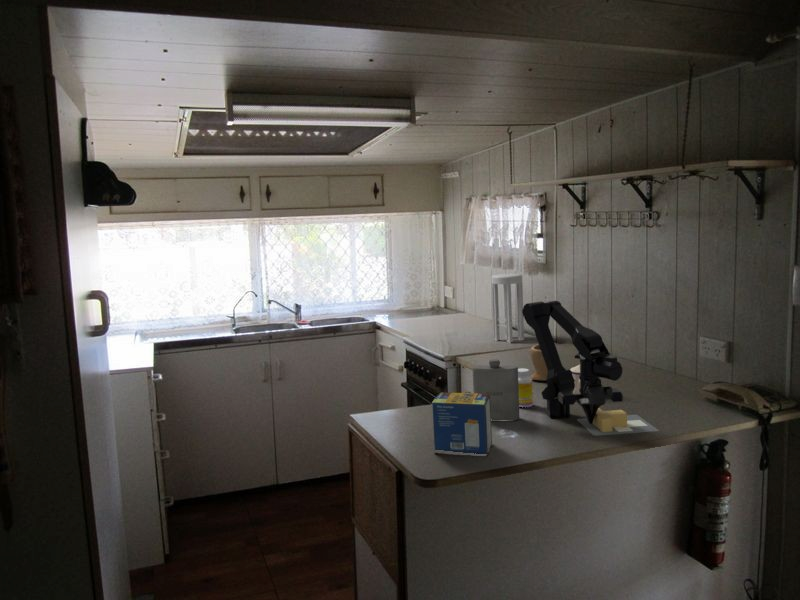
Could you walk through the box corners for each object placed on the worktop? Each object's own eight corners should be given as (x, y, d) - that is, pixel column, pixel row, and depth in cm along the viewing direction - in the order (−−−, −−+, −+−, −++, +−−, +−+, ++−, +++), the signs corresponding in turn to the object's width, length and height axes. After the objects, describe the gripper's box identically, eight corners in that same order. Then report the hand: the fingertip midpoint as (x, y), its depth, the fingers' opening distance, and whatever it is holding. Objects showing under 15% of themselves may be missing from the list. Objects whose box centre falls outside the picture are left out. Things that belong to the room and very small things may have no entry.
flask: (472, 420, 209) (470, 361, 207) (475, 415, 215) (473, 357, 212) (518, 422, 205) (516, 362, 202) (520, 416, 210) (518, 358, 208)
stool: (507, 336, 347) (505, 273, 342) (529, 339, 335) (527, 274, 330) (488, 341, 338) (485, 275, 333) (510, 344, 325) (507, 277, 321)
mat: (593, 436, 188) (593, 435, 188) (576, 419, 204) (576, 418, 204) (659, 431, 189) (659, 430, 189) (636, 415, 205) (636, 414, 205)
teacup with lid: (572, 389, 239) (571, 359, 237) (597, 390, 235) (596, 360, 234) (567, 398, 228) (566, 366, 226) (593, 400, 224) (593, 367, 223)
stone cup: (526, 383, 251) (525, 346, 249) (533, 375, 261) (532, 340, 259) (565, 385, 244) (564, 347, 242) (571, 378, 255) (570, 341, 253)
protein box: (441, 441, 192) (439, 392, 190) (492, 444, 187) (490, 393, 185) (433, 454, 182) (431, 402, 180) (487, 457, 177) (484, 403, 175)
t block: (602, 432, 191) (602, 419, 190) (590, 420, 202) (589, 408, 201) (631, 429, 191) (631, 417, 191) (617, 418, 202) (617, 406, 202)
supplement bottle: (536, 406, 220) (535, 370, 218) (519, 409, 218) (518, 373, 216) (527, 401, 226) (526, 366, 225) (510, 404, 225) (509, 369, 223)
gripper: (567, 382, 186) (568, 433, 188) (630, 378, 186) (630, 429, 188) (556, 373, 197) (557, 422, 199) (615, 370, 197) (616, 418, 199)
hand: (590, 423), depth 196 cm, fingers closed
